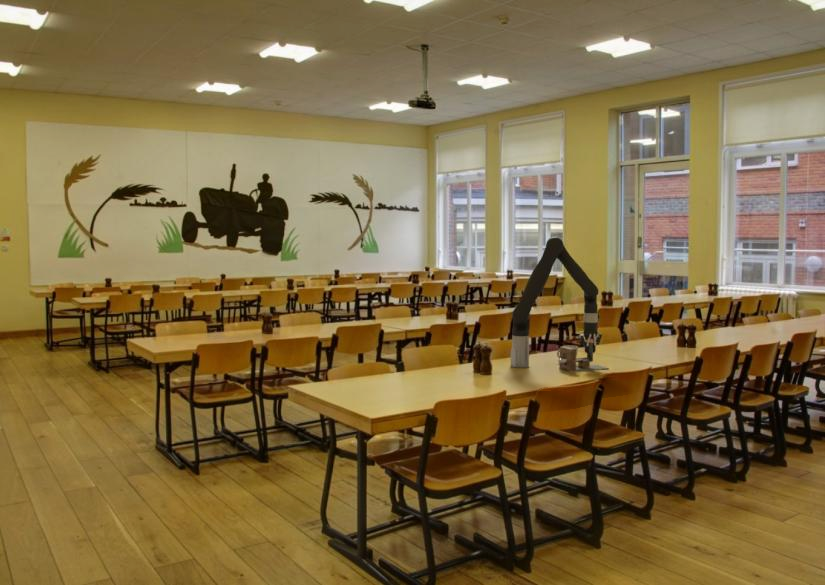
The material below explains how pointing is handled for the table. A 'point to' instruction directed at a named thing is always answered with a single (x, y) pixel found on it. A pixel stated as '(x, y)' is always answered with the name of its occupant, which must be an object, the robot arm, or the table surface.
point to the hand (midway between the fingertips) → (590, 352)
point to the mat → (592, 367)
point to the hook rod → (589, 357)
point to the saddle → (584, 364)
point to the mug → (568, 346)
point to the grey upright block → (568, 358)
